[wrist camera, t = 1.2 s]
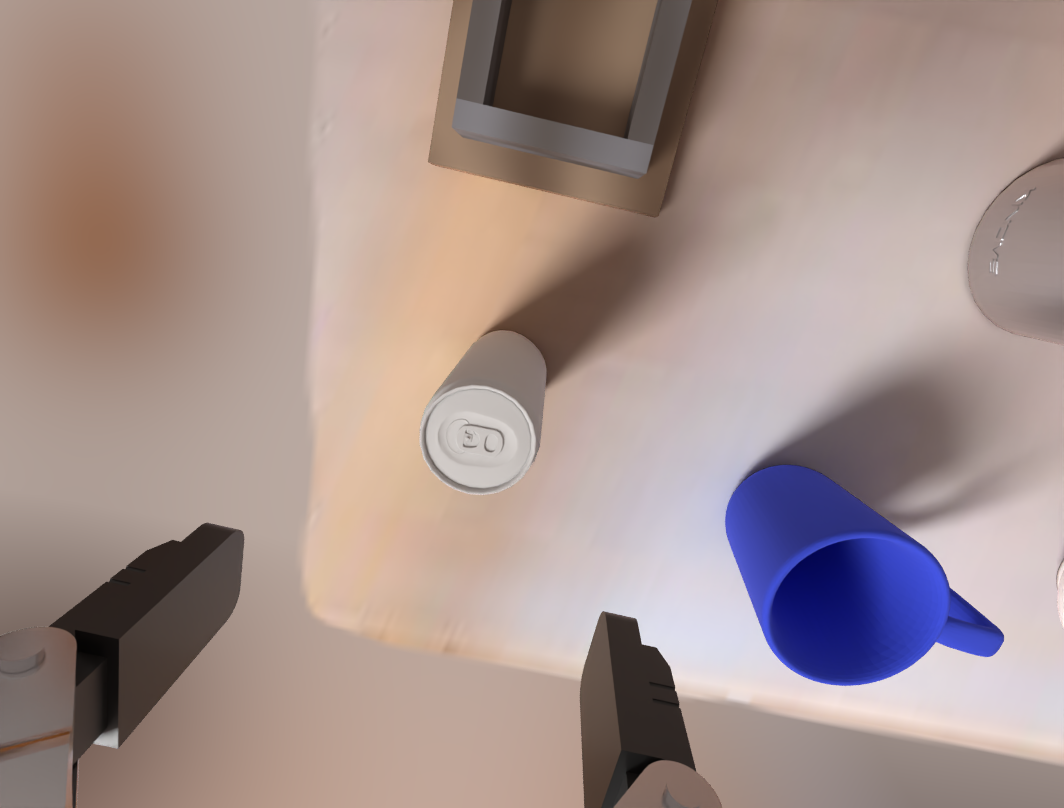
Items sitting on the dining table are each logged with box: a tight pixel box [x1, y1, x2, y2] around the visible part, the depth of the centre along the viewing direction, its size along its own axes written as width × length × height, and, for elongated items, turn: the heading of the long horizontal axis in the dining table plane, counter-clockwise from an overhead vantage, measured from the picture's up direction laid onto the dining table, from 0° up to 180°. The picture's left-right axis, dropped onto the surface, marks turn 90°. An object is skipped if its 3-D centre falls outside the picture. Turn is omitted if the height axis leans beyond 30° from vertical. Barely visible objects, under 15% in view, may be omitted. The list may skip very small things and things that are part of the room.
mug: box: [725, 465, 1004, 686], centre depth 31 cm, size 8×12×10 cm
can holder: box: [428, 0, 718, 217], centre depth 27 cm, size 12×12×4 cm
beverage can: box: [420, 330, 547, 495], centre depth 28 cm, size 5×5×12 cm
